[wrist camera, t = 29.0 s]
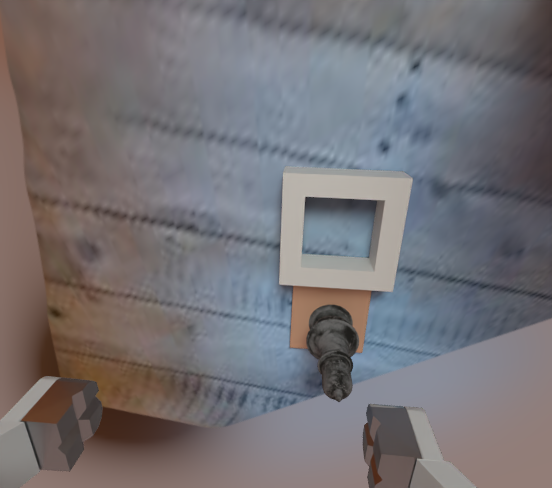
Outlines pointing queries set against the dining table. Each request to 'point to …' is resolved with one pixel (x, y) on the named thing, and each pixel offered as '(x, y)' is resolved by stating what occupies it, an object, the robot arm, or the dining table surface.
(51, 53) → the dining table surface
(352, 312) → the terracotta tile
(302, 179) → the socket block
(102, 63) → the dining table surface
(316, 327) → the dark turned stone ornament
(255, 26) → the dining table surface
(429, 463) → the robot arm
